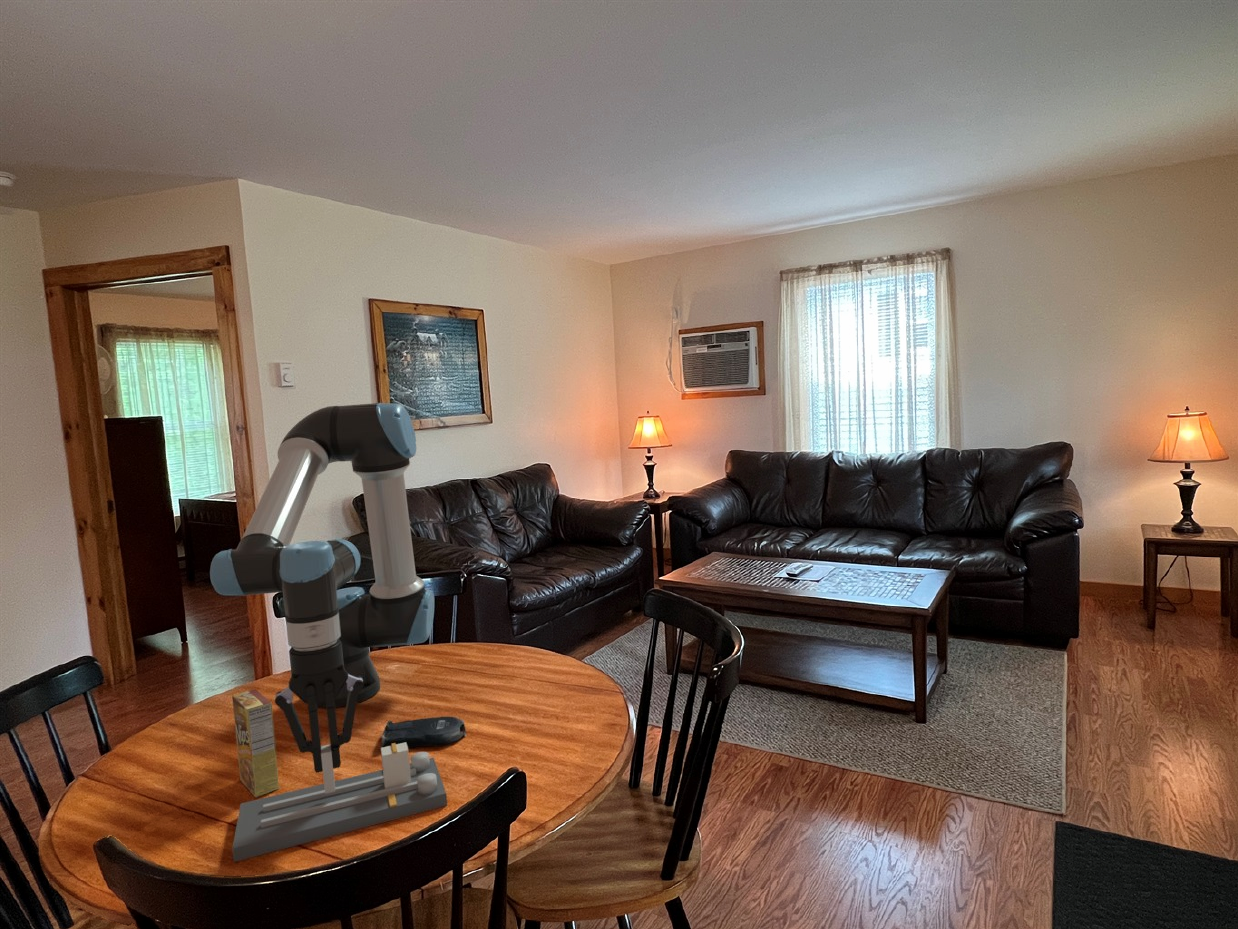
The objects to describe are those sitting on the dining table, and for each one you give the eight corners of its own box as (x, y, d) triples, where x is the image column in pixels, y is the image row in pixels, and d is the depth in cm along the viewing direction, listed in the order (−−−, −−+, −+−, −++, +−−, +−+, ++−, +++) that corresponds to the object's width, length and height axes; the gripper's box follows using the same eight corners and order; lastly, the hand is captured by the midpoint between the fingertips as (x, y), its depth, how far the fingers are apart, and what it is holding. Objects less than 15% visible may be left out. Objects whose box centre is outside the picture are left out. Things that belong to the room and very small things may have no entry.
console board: (242, 815, 114) (239, 791, 114) (434, 768, 126) (432, 746, 125) (233, 862, 102) (230, 835, 102) (447, 805, 114) (445, 781, 114)
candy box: (239, 780, 126) (229, 695, 124) (264, 771, 128) (256, 687, 127) (255, 799, 119) (245, 709, 118) (281, 788, 122) (272, 701, 121)
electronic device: (383, 764, 132) (464, 743, 134) (377, 734, 132) (458, 713, 134) (393, 747, 141) (469, 727, 143) (387, 719, 141) (463, 700, 143)
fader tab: (383, 783, 118) (380, 746, 117) (409, 776, 119) (406, 740, 119) (385, 792, 115) (382, 754, 114) (411, 785, 116) (408, 748, 116)
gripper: (267, 659, 105) (283, 812, 107) (361, 642, 110) (375, 789, 112) (269, 643, 112) (285, 787, 114) (358, 628, 117) (371, 767, 119)
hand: (329, 788), depth 113 cm, fingers closed
